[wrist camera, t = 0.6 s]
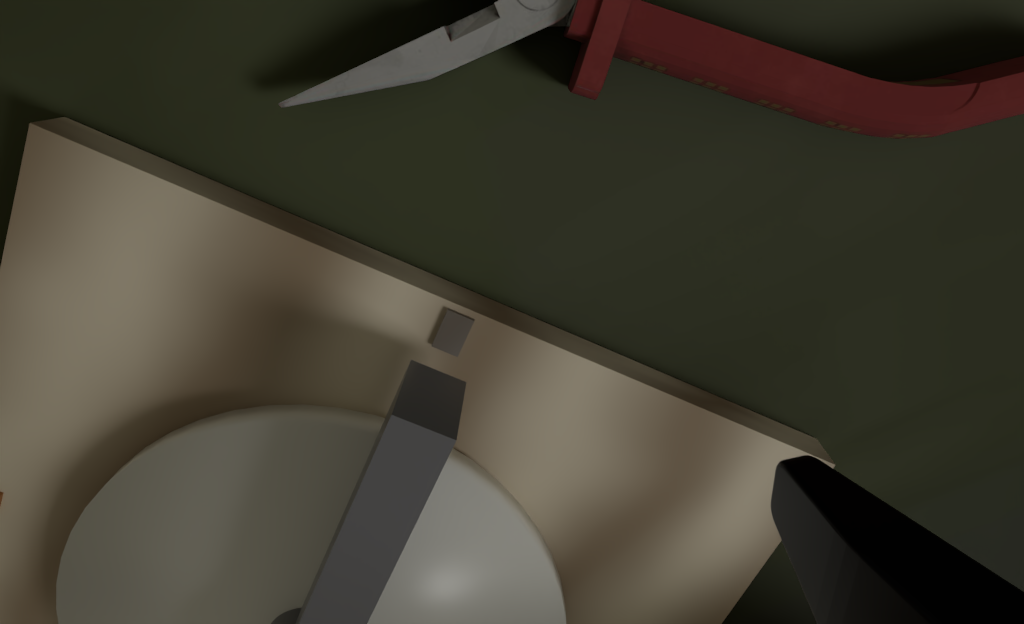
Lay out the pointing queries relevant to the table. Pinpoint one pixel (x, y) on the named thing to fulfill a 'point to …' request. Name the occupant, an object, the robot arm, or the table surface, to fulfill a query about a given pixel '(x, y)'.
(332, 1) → the table surface
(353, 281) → the dial base
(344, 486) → the dial
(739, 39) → the pliers
